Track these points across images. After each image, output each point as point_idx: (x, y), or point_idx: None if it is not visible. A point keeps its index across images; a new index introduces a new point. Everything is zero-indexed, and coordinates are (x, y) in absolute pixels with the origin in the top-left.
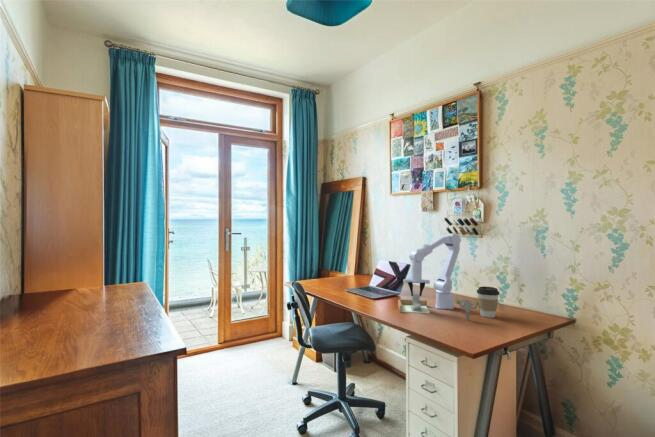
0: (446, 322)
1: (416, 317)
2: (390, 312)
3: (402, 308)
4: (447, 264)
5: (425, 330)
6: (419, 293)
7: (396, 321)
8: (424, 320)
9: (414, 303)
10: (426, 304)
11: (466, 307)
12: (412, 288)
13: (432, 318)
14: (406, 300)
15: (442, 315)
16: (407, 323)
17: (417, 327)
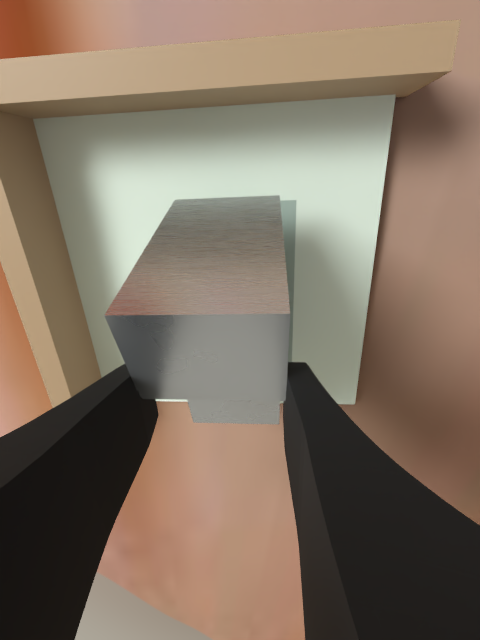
0: None
1: (227, 491)
2: (26, 407)
3: (97, 312)
4: None
5: (256, 635)
6: (283, 382)
7: (110, 555)
8: (274, 534)
9: (204, 417)
10: (413, 90)
11: None
12: (80, 597)
13: None
14: (85, 98)
15: (453, 432)
16: (172, 575)
17: (222, 612)
